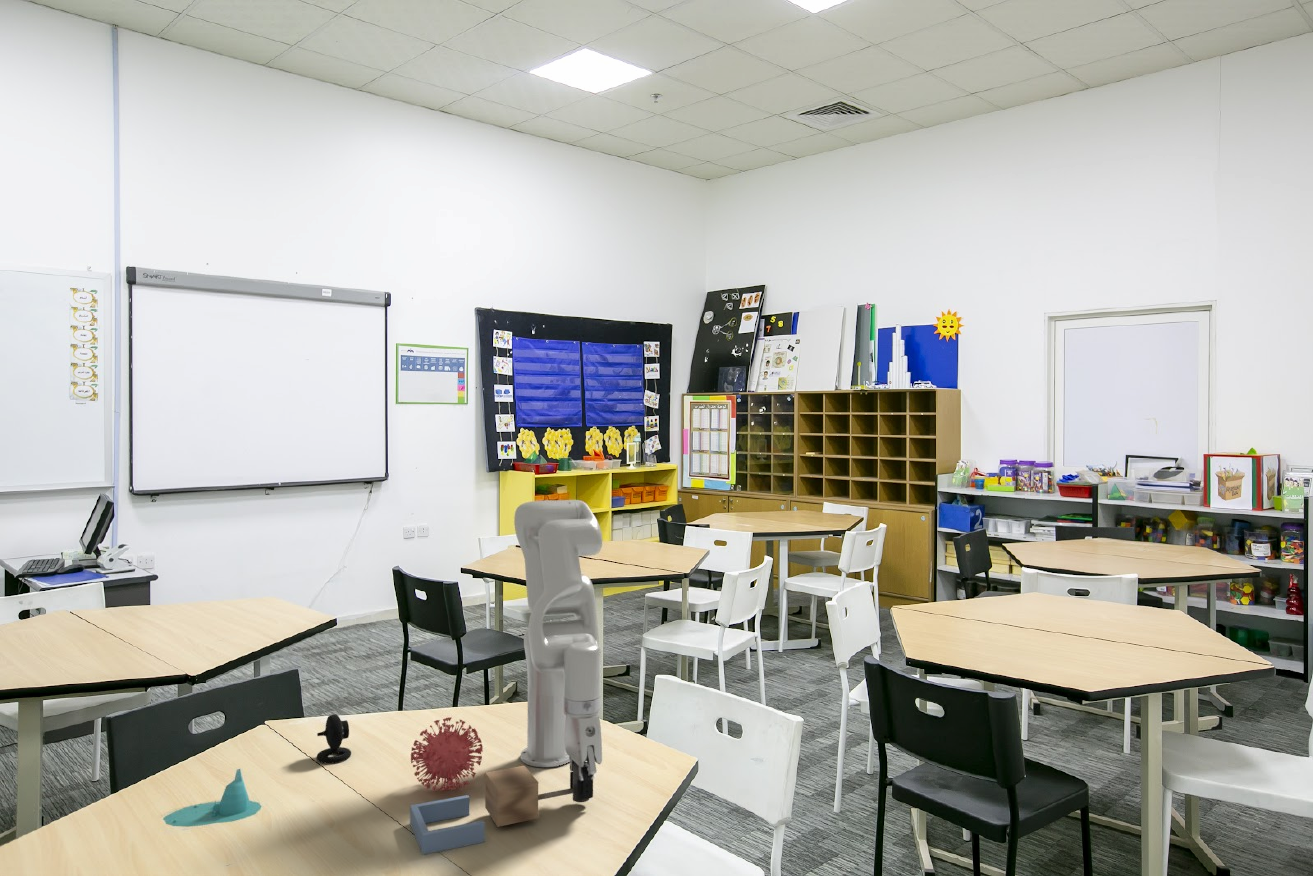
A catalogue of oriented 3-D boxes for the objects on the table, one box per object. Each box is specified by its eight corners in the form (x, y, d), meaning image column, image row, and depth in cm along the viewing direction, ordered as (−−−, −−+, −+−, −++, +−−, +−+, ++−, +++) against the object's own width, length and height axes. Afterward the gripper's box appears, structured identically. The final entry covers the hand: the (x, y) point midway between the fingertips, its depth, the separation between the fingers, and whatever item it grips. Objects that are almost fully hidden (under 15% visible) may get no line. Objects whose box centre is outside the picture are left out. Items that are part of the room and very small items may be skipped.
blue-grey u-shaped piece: (422, 854, 151) (422, 835, 151) (410, 823, 163) (410, 805, 163) (484, 842, 155) (484, 823, 155) (467, 812, 168) (468, 795, 168)
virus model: (495, 781, 183) (495, 712, 183) (457, 809, 169) (457, 735, 169) (436, 771, 188) (437, 705, 188) (395, 798, 174) (396, 726, 174)
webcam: (354, 760, 194) (355, 716, 194) (321, 767, 190) (321, 722, 190) (346, 749, 201) (346, 707, 201) (313, 756, 197) (313, 713, 197)
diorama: (165, 807, 170) (165, 765, 170) (272, 796, 175) (272, 755, 175) (145, 835, 158) (146, 789, 158) (261, 822, 164) (261, 778, 164)
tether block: (497, 826, 159) (497, 790, 159) (485, 807, 167) (485, 772, 167) (597, 806, 168) (597, 771, 168) (580, 788, 176) (581, 755, 176)
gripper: (614, 714, 165) (614, 807, 165) (584, 691, 180) (584, 776, 180) (578, 720, 162) (578, 815, 162) (551, 695, 177) (550, 782, 177)
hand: (581, 793), depth 171 cm, fingers closed on tether block, 3 cm apart
